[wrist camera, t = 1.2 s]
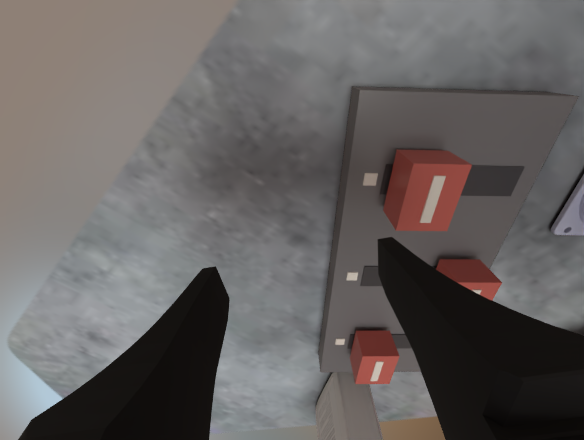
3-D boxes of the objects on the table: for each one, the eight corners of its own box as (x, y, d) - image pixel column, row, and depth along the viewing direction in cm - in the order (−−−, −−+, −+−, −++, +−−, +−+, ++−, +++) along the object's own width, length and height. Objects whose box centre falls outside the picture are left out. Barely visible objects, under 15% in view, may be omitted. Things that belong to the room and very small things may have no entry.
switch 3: (479, 259, 20) (503, 283, 18) (461, 298, 22) (480, 324, 20) (439, 259, 20) (458, 283, 18) (424, 298, 22) (439, 324, 20)
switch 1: (389, 330, 24) (400, 357, 22) (380, 357, 26) (389, 384, 24) (355, 330, 24) (362, 357, 22) (349, 358, 26) (355, 385, 24)
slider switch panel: (548, 92, 17) (580, 96, 15) (427, 353, 30) (437, 372, 28) (352, 86, 16) (360, 90, 14) (318, 353, 30) (320, 373, 28)
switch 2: (447, 150, 16) (473, 165, 14) (428, 210, 18) (447, 231, 16) (396, 149, 16) (414, 164, 14) (383, 210, 18) (396, 231, 16)
